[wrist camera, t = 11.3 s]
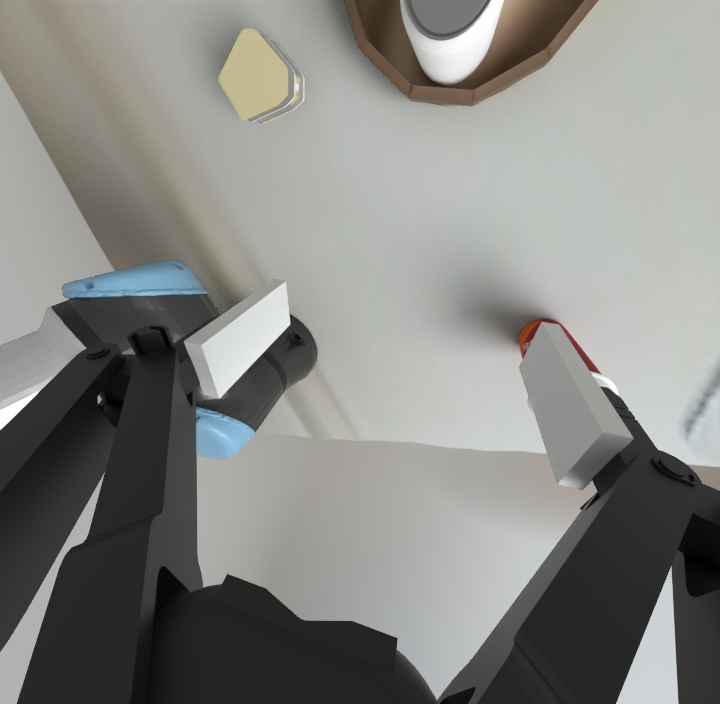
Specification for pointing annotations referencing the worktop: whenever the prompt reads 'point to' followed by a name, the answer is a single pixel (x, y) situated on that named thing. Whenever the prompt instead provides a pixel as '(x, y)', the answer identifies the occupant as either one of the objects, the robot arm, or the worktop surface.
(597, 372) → the paper cup
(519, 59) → the tray
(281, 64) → the yellow layered block
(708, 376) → the worktop surface
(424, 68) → the can
